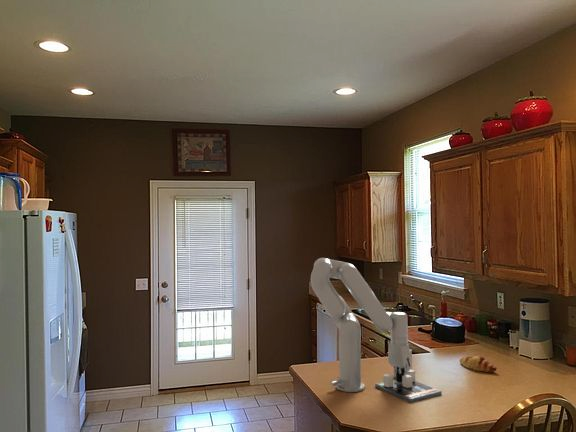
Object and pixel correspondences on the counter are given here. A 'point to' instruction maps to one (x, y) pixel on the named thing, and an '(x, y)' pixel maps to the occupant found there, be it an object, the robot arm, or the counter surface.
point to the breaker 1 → (388, 380)
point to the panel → (410, 391)
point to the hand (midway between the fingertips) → (400, 381)
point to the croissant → (477, 364)
